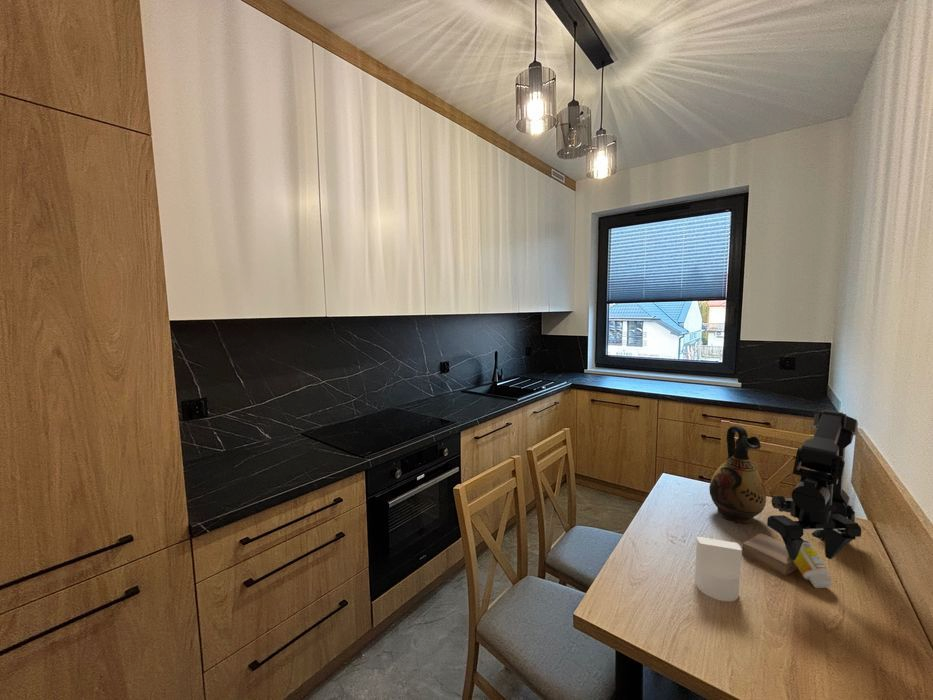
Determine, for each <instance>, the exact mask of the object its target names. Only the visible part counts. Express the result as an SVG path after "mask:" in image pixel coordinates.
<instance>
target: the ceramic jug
mask: <svg viewBox="0 0 933 700" xmlns="http://www.w3.org/2000/svg"><path fill="white" fill-rule="evenodd" d="M736 433H737V436H738V438H737V439H736V438H735V436H736ZM748 435H749V434H748V433H747V431H746V429H745V428H744V427H743V426H740V425H738V424H737V425H731V426H730V427H729V428H728V429H727V432H726V444H727V445H726V446H727V458H726V459H725V461H724V462H723V463H722V464H721V465H720V466H719V467H718V468H717V469H716V470H715V472H714V473H713V476H712V477H711V480H710V483H709V488H708V489H709V495H710V497H711V501H712V503H713V504H714V505H715V507H716V508H717V514H719V515H720V516H721V517H722V518H724V519H725V520H727V521H731V522H734V523H737V524H747V523H750V522H751V521H752V519H753V518H755V517H756V516H758V515H759V514H760V513H762V512H763V511H764V509H765V507H766V504H767V493H766V488H765V484H764V481H763V479H762V477H761V476H760V474H759V472H758V470H757V468H756V466H754V464H753V462H752V461H751V458H750V457H749V455H748V454H749V452H748V451H749V450H760V449H761V447H762V445H761V441H760V440H759V439H758V437H757V436H750V437H748Z"/></svg>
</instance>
